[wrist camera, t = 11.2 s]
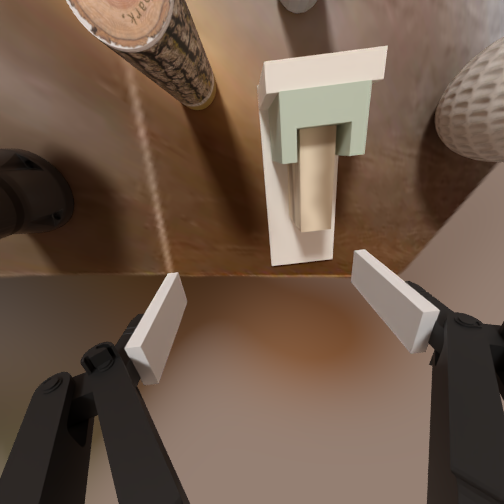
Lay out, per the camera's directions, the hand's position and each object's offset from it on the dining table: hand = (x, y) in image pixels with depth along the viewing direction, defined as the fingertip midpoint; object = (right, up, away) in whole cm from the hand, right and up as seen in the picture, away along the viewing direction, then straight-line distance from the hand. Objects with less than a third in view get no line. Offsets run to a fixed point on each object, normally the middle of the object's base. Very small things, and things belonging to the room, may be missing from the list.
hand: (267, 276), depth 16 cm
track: (+8, +15, +27) cm, 32 cm away
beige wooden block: (+8, +16, +25) cm, 31 cm away
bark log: (-10, +29, +19) cm, 37 cm away
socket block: (+7, +23, +22) cm, 32 cm away
